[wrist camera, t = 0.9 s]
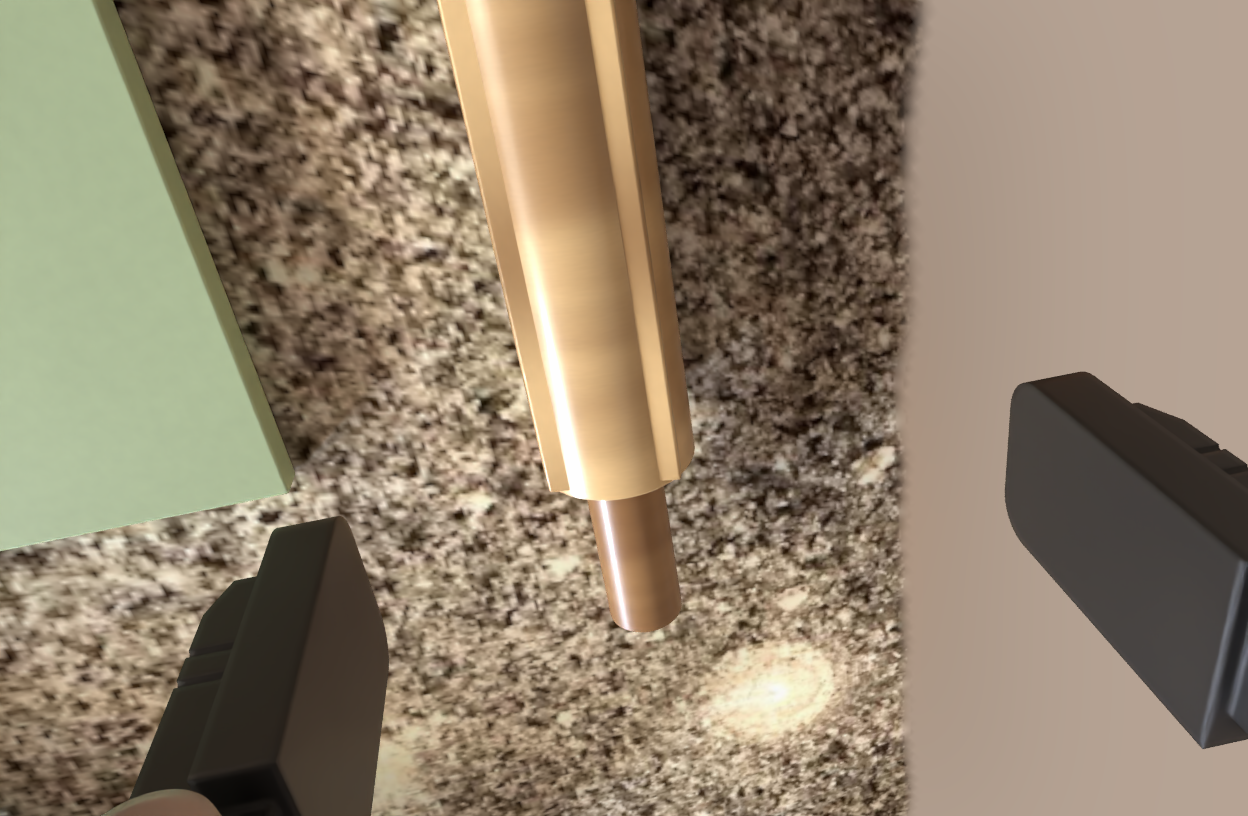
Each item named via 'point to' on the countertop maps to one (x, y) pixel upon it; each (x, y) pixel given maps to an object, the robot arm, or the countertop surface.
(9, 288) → the pastry board
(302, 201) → the countertop surface
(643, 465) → the rolling pin
